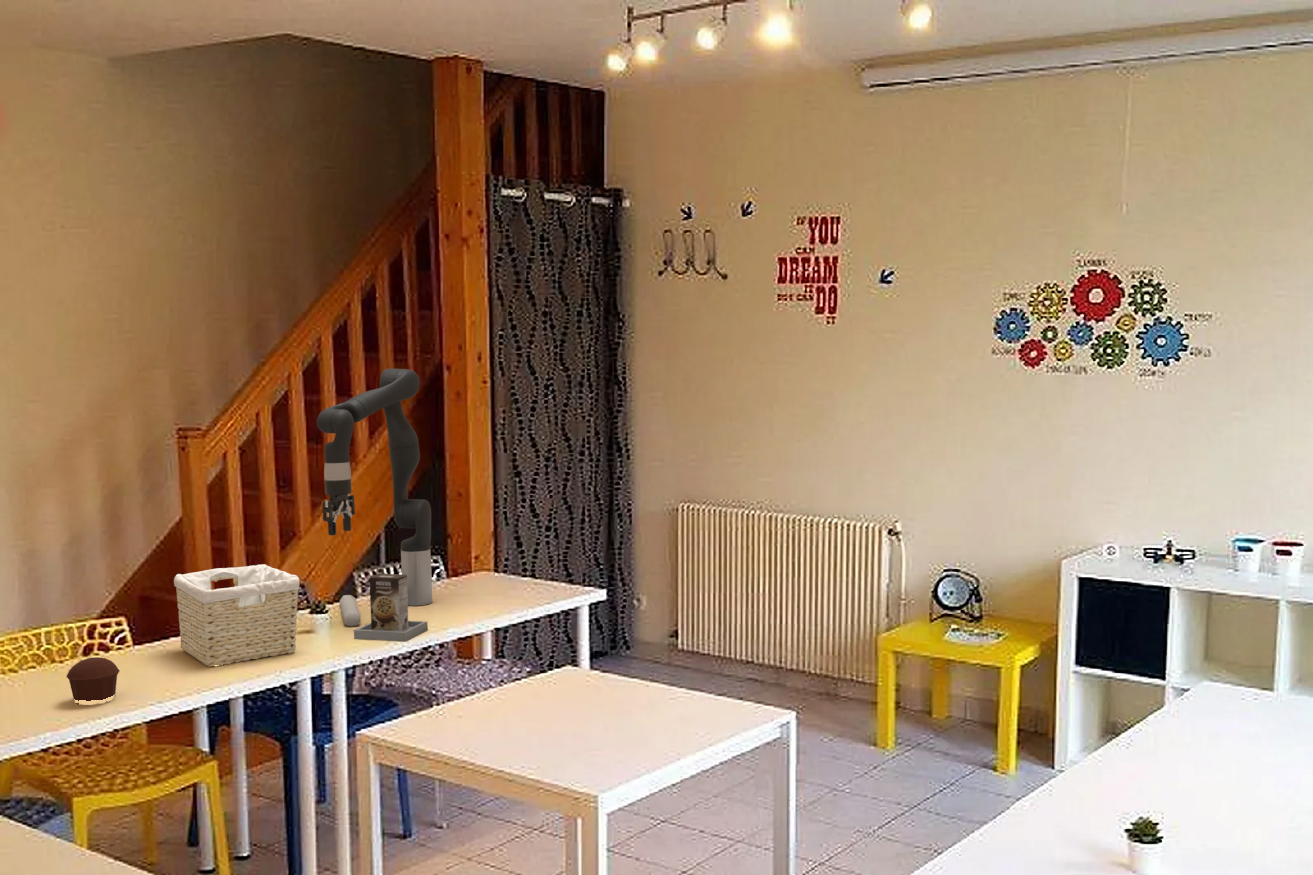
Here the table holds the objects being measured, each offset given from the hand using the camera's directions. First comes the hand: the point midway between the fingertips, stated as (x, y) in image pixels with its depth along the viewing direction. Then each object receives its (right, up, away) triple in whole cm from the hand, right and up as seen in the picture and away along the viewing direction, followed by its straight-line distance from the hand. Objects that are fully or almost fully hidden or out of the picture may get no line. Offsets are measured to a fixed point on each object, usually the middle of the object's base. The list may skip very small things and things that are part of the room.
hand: (340, 533), depth 383 cm
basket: (-21, -31, -25) cm, 45 cm away
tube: (0, -27, +15) cm, 31 cm away
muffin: (-42, -35, -69) cm, 88 cm away
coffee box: (+16, -28, -8) cm, 33 cm away
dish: (+16, -29, -7) cm, 34 cm away
